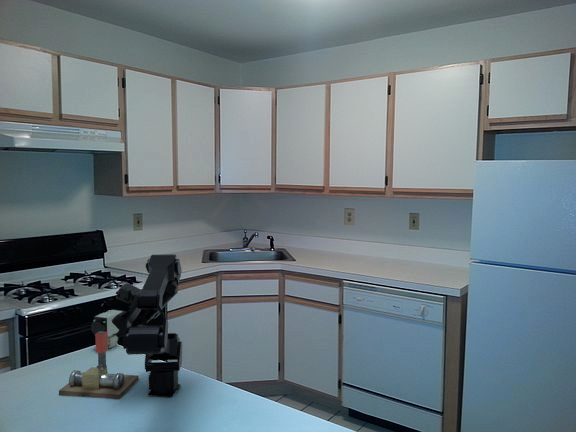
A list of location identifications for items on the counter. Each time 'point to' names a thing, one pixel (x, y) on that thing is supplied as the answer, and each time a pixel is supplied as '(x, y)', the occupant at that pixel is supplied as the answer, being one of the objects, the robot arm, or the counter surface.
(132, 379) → the mounting board
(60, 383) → the counter surface
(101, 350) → the lever
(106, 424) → the counter surface
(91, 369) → the valve body
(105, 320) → the pneumatic valve
